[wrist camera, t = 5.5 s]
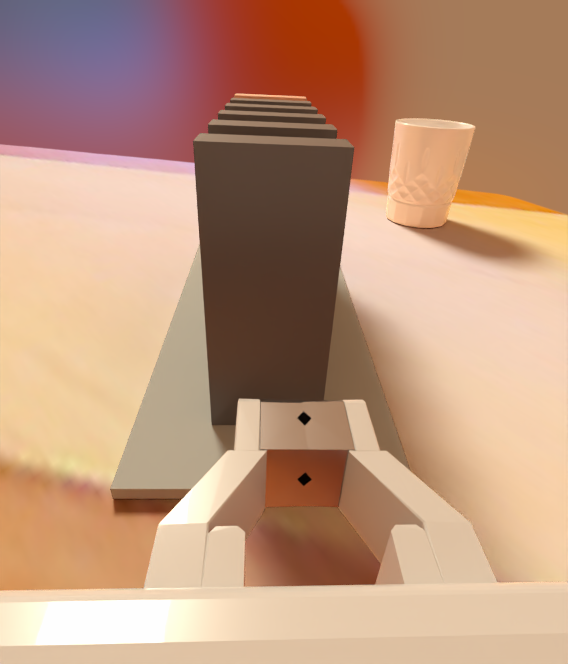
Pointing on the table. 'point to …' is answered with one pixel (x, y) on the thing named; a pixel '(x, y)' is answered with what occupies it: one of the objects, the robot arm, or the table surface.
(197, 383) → the felt strip
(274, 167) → the domino
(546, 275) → the table surface
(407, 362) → the table surface
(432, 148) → the white cup
